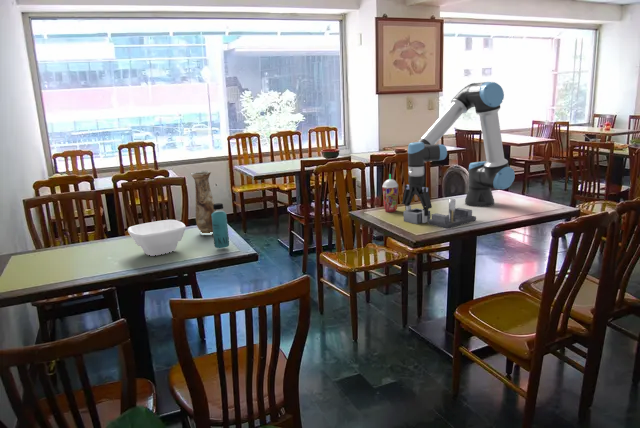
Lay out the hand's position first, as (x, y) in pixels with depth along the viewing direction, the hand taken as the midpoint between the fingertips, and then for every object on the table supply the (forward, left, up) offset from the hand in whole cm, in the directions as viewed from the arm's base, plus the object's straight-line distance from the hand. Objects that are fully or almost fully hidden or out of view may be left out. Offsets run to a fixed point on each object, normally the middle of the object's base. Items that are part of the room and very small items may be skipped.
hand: (416, 220), depth 240 cm
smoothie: (-6, -25, -1) cm, 26 cm away
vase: (+85, -55, -1) cm, 101 cm away
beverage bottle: (+91, -25, 0) cm, 94 cm away
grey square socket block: (0, 0, 0) cm, 0 cm away
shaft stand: (-9, +14, 0) cm, 17 cm away
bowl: (+113, -40, -1) cm, 120 cm away
